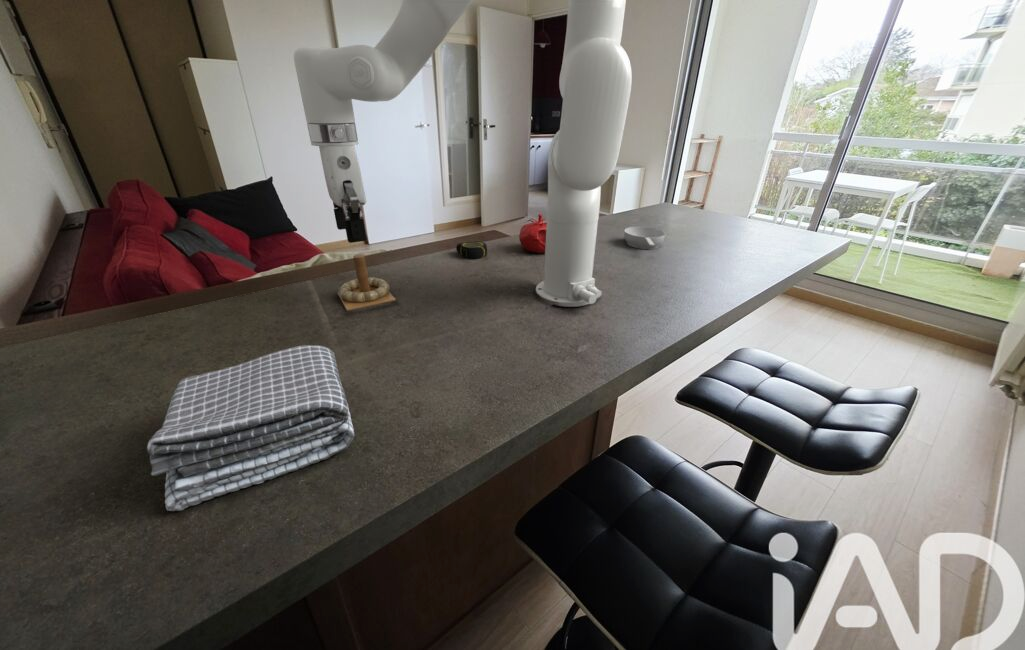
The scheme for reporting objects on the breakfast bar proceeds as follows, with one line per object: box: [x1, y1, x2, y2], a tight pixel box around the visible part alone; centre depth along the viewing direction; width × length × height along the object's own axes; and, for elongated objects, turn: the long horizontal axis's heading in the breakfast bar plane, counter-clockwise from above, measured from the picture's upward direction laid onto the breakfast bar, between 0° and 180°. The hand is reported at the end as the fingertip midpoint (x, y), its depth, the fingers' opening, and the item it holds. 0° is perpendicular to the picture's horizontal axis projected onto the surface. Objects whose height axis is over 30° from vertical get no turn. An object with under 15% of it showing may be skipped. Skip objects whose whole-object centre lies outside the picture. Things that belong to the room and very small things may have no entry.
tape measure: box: [455, 240, 488, 260], centre depth 103 cm, size 7×7×4 cm
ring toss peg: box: [337, 253, 396, 312], centre depth 79 cm, size 9×9×9 cm
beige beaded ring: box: [337, 277, 390, 302], centre depth 81 cm, size 9×9×2 cm
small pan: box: [623, 226, 666, 250], centre depth 111 cm, size 11×18×4 cm, turn 172°
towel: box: [146, 344, 355, 512], centre depth 46 cm, size 15×18×8 cm
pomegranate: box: [518, 213, 547, 254], centre depth 108 cm, size 10×10×9 cm
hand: (351, 234), depth 78 cm, fingers open, 9 cm apart
